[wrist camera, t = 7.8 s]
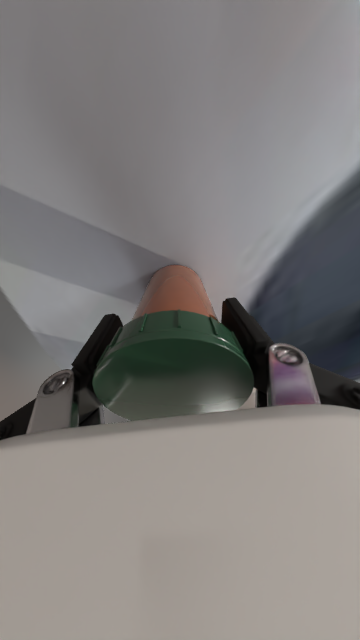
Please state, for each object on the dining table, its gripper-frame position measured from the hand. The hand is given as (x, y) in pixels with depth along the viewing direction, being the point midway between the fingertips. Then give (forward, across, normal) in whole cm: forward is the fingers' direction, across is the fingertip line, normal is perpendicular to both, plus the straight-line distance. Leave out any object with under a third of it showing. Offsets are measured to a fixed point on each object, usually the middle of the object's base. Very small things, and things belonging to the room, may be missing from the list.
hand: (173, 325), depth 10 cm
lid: (-4, 0, 0) cm, 4 cm away
